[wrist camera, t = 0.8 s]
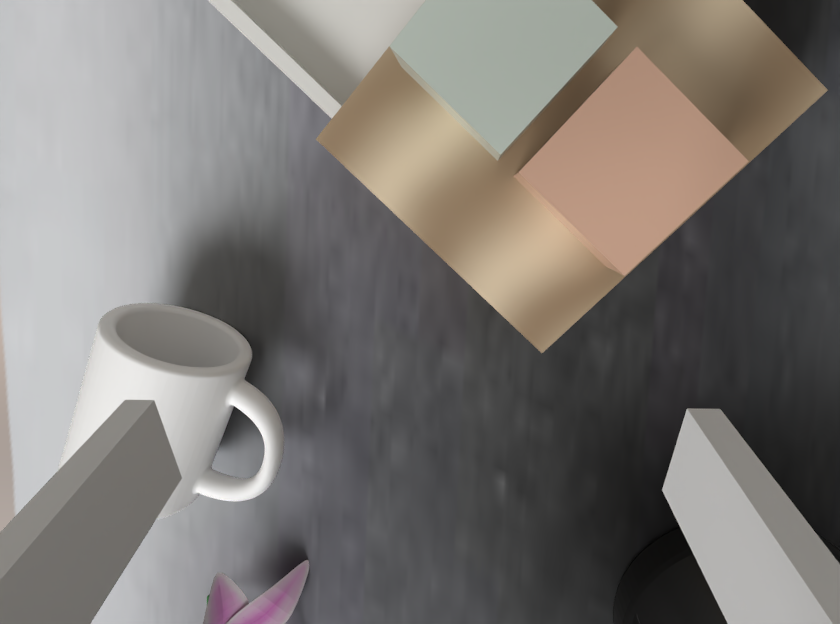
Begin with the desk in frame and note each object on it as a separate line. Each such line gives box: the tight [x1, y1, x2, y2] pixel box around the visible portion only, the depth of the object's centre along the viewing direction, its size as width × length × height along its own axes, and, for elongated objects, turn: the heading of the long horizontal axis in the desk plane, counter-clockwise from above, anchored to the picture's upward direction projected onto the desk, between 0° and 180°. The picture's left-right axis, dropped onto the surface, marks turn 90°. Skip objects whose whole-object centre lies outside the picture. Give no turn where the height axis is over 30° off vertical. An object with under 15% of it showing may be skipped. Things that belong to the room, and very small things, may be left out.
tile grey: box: [390, 0, 617, 161], centre depth 19 cm, size 6×6×3 cm
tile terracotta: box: [514, 47, 749, 276], centre depth 20 cm, size 6×6×3 cm
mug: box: [58, 303, 284, 520], centre depth 28 cm, size 12×10×8 cm
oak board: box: [316, 0, 828, 353], centre depth 24 cm, size 15×16×5 cm
